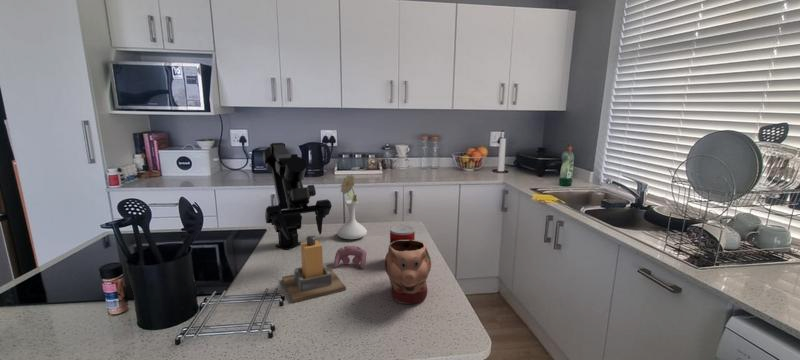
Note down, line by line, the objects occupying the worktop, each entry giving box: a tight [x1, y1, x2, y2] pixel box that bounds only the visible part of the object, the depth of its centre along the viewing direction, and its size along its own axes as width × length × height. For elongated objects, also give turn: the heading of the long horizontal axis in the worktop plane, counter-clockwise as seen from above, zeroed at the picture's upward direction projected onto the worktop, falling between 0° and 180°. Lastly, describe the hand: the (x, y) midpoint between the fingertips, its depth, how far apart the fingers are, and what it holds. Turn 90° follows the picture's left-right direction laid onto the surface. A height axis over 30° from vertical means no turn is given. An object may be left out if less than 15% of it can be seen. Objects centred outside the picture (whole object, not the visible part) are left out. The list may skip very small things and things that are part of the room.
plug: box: [300, 235, 324, 279], centre depth 99 cm, size 5×5×13 cm
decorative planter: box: [384, 239, 432, 304], centre depth 95 cm, size 20×12×14 cm, turn 8°
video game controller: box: [333, 245, 367, 270], centre depth 113 cm, size 10×5×7 cm, turn 85°
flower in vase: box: [336, 173, 368, 240], centre depth 135 cm, size 13×11×25 cm
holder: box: [281, 263, 347, 304], centre depth 100 cm, size 14×14×4 cm
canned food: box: [389, 224, 416, 245], centre depth 115 cm, size 8×8×11 cm
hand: (304, 236), depth 104 cm, fingers open, 9 cm apart
